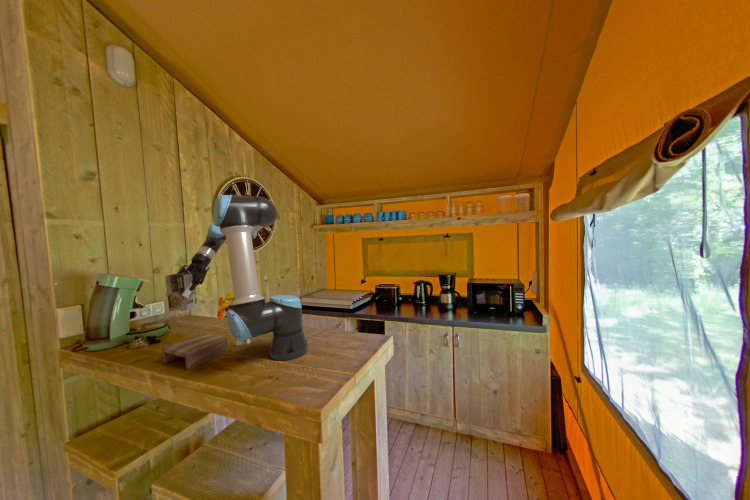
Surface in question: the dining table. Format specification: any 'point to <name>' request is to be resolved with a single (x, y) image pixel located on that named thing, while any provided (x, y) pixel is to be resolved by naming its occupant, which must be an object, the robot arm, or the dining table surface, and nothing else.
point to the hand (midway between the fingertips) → (175, 296)
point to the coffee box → (180, 292)
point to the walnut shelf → (196, 349)
